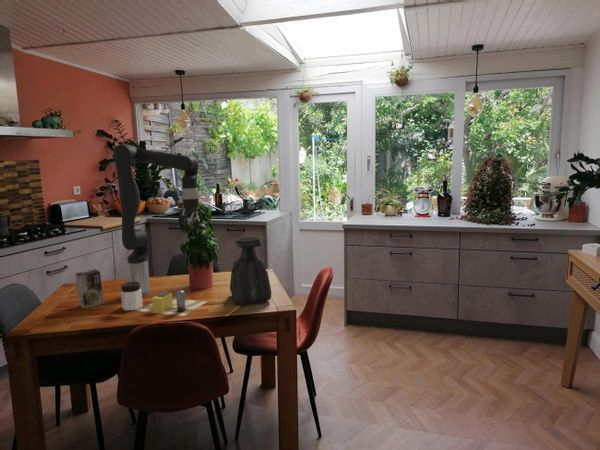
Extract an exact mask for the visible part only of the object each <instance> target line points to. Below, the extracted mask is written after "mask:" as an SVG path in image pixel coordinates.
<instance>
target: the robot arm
mask: <svg viewBox="0 0 600 450" xmlns="http://www.w3.org/2000/svg"><path fill="white" fill-rule="evenodd" d="M113 159H114V164H115V168H116V174H117V183H118V190H119V191H118V192H119V202H120V204H119V205H120V211H121V243H122V245H123V247H124V248H125V249H126V250H127V251H132V252H131V253H130V254H129V255H128V256H127V267H128V276H127V282H139V283H140V288H141V291H142V297H146V296H148V295H150V293H151V289H150V277H149V265H148V257H149V238H148V234H147V232H146V231H145V230H144V229H140V228H139V229H136V228H135V223H136V218H137V215H138V212H139V210H140V207H141V196H140V195H141V194H140V189H139V186H138V184H137V182H136V180H135V177H134V176H133V172H132V164H135V163H136V164H137V163H142V164H150V165H154V166H157V167H162V168H168V169H176V170H179V171H184V174H183V176H182V178H181V188H182V191H181V196H182V198H181V199H182V207H183V209H184V210H183V211H182V210H181V212H180V220H181V221H180V222H181V225H184V232H185V233H191V228H190V224H191V221H192V220H193V221H194V229H195V230H198V231H199V230H200V222H201V221H202V220H203V216H202V215H203V213H202V208H201V207H200V202H199V201H200V199H199V190H198V179H197V177H198V172H199V162H198V159H197V158H196V157H195V156H194V155H184V154H183V155H181V154H176V153H172V152H165V151H157V150H155V151H154V150H149V149H145V148H140V147H138V146H135V145H134V144H133V145H132V144H126V143H120V144H118V145H116V147H115V148H114V150H113Z"/></svg>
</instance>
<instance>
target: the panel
mask: <svg viewBox="0 0 600 450" xmlns="http://www.w3.org/2000/svg"><path fill="white" fill-rule="evenodd" d="M172 301H173V306H172V307H170V308H168V309H166V310H165V311H163V312H158V311H153V309H152V302H151V303H148V304H147V305H145V306H142V307H140V308H139V309H137V310H136V312H142V313H143V312H144V313H153V314H154V313H155V314H163V315H171V316H180V317H182V316H183V317H186V316H187V315H188V314H190V313H192V312H194V311H195V310H196V309H198V308H200V307H202V306H203V305H204V304H206V303H207V301H205V300H193V299H186V298H185V308H186V311H184V312H177V300H176V297H175V298H173V297H172Z"/></svg>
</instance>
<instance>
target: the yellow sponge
mask: <svg viewBox="0 0 600 450" xmlns="http://www.w3.org/2000/svg"><path fill="white" fill-rule="evenodd" d="M172 298H173V293H171V292H165V291H162V292H159V293H158V294H156V295H155V296H153V297H151V303H152V309H153V311H158V312H163V311H165V310H166V309H168V308H170V307H172V306H173V301H172Z"/></svg>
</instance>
